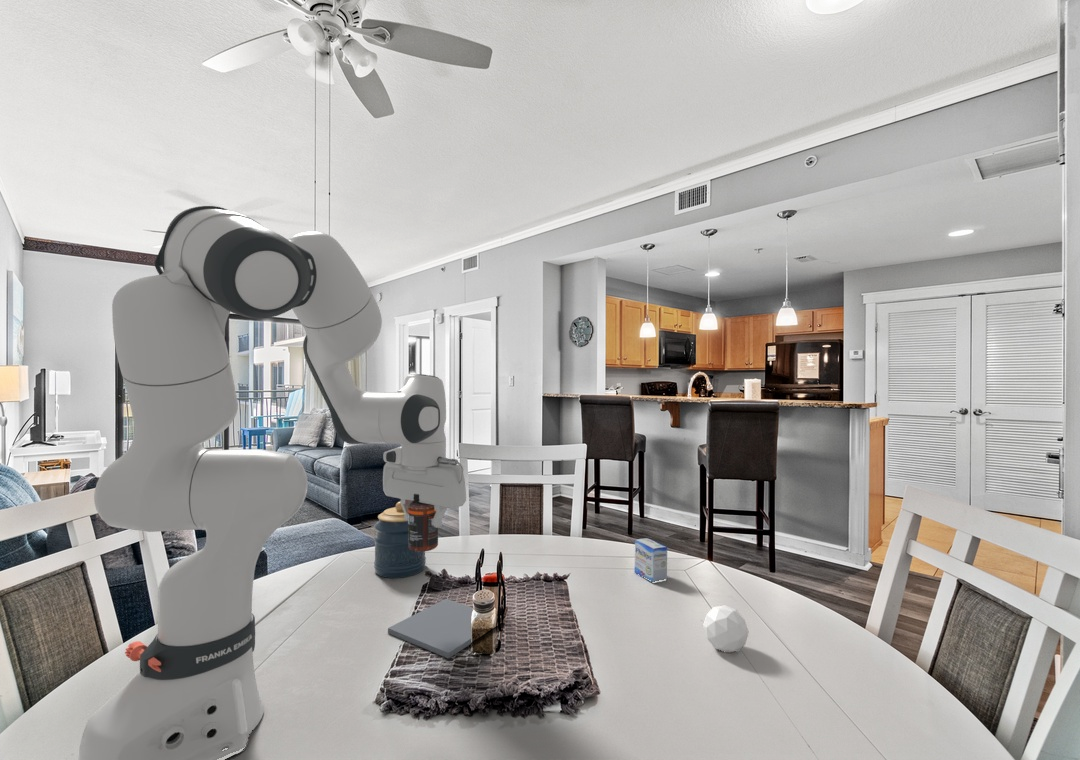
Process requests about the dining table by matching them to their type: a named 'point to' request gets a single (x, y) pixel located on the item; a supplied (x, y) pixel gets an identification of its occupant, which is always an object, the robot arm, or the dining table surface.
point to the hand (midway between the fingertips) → (423, 523)
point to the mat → (438, 628)
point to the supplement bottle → (421, 526)
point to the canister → (395, 546)
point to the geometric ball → (725, 628)
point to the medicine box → (650, 559)
